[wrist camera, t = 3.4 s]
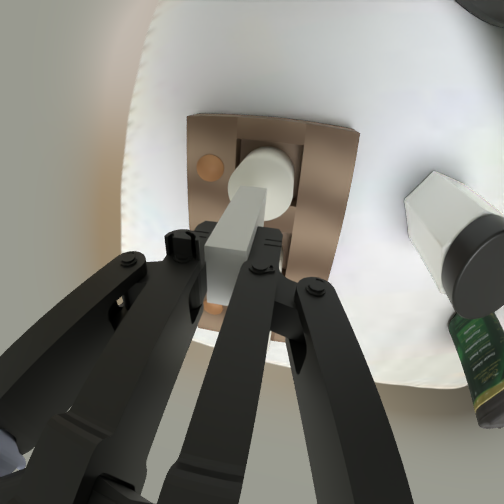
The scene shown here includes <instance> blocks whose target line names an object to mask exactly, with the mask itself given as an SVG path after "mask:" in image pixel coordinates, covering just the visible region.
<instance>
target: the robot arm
mask: <svg viewBox="0 0 504 504" xmlns="http://www.w3.org/2000/svg"><path fill="white" fill-rule="evenodd" d="M456 1H457V2H458V3H459V4H460V5H461V6H463V7H464V8H465V9H467V10H468V11H469V12H471V13H472V14H473V15H475V16H476V17H478V18H480V19H481V20H483V21H485V22H487V23H489V24H492V25H494V26H498V27H504V0H456ZM266 194H267V188H259V187H250V186H240V187H239V189H238V190H237V192H236V193H235V195H234V197H233V198H232V200H231V202H230V203H229V205H228V206H227V208H226V210H225V211H224V213H223V215H222V216H221V218H220V220H219V221H218V222H214V221H204V222H202V223H200V224H198V225H197V227H196V228H195V230H194V231H192V230H187V229H180V230H174V231H172V232H169V233H168V234H166V235H165V236H164V237H165V245H166V253H167V255H166V257H165V258H164V260H163V261H158V262H146V258H145V256H144V255H143V254H142V253H140V252H136V251H132V252H131V251H130V252H126V253H123V254H121V255H119V256H117V257H116V258H115V259H113V260H112V261H111V262H109V263H108V264H107V265H105V266H104V267H103V268H101V269H100V270H99V271H97V272H96V273H95V274H93V275H92V276H91V277H90V278H88V279H87V280H86V281H85V282H84V283H82V284H81V285H80V286H78V287H77V288H76V289H75V290H73V291H72V292H71V293H70V294H69V295H67V296H66V297H65V298H64V299H62V300H61V301H60V302H59V303H58V304H57V305H56V306H54V307H53V308H52V309H51V310H50V311H48V312H47V313H46V314H45V315H44V316H43V317H42V318H40V319H39V320H38V321H37V322H36V323H35V324H34V325H33V326H32V327H30V328H29V329H28V330H27V331H26V332H25V333H24V334H23V335H22V336H21V337H20V338H19V339H18V340H16V341H15V342H14V343H13V344H12V345H11V346H10V347H9V348H8V349H7V350H6V351H5V352H4V353H3V354H2V355H1V356H0V504H153V503H151V502H150V501H148V500H146V499H145V498H143V497H142V496H140V495H141V491H142V489H143V486H144V483H145V479H146V475H147V469H146V460H147V457H148V454H149V451H150V448H151V446H152V443H153V440H154V437H155V434H156V432H157V429H158V426H159V424H160V421H161V418H162V416H163V413H164V410H165V408H166V405H167V402H168V400H169V397H170V394H171V392H172V389H173V386H174V384H175V381H176V379H177V376H178V373H179V371H180V369H181V366H182V363H183V361H184V358H185V355H186V353H187V350H188V348H189V345H190V343H191V341H192V338H193V336H194V333H195V331H196V328H197V326H198V323H199V321H200V318H201V316H202V313H203V309H204V304H203V300H204V298H205V295H206V293H207V302H208V303H214V304H219V305H225V306H228V307H227V310H226V314H225V317H224V320H223V323H222V326H221V329H220V332H219V335H218V338H217V341H216V344H215V347H214V350H213V354H212V356H211V359H210V362H209V366H208V369H207V372H206V375H205V378H204V381H203V384H202V387H201V390H200V393H199V396H198V399H197V403H196V406H195V409H194V412H193V415H192V418H191V421H190V424H189V428H188V431H187V434H186V437H185V440H184V443H183V446H182V449H181V453H180V455H179V458H178V459H177V461H176V462H175V463H174V464H173V465H172V466H171V468H170V469H169V471H168V473H167V475H166V478H165V480H164V483H163V487H162V489H161V492H160V495H159V499H158V502H157V504H238V503H239V498H240V494H241V489H242V484H243V479H244V473H245V469H246V464H247V459H248V454H249V449H250V444H251V438H252V433H253V428H254V422H255V417H256V411H257V406H258V400H259V394H260V389H261V383H262V377H263V371H264V365H265V359H266V353H267V346H268V340H269V334H270V331H272V332H274V333H277V334H279V335H281V336H284V337H285V342H286V347H287V351H288V356H289V361H290V366H291V370H292V375H293V380H294V384H295V390H296V395H297V400H298V405H299V410H300V414H301V420H302V424H303V430H304V435H305V440H306V445H307V451H308V456H309V461H310V466H311V472H312V477H313V482H314V487H315V493H316V499H317V504H414V503H413V499H412V495H411V492H410V488H409V484H408V480H407V477H406V473H405V470H404V467H403V463H402V460H401V457H400V454H399V451H398V448H397V444H396V441H395V438H394V435H393V432H392V429H391V426H390V424H389V421H388V418H387V415H386V412H385V410H384V407H383V404H382V401H381V399H380V396H379V393H378V391H377V388H376V385H375V383H374V380H373V378H372V375H371V372H370V370H369V367H368V365H367V362H366V360H365V358H364V355H363V353H362V350H361V348H360V345H359V343H358V341H357V338H356V336H355V334H354V331H353V329H352V327H351V324H350V322H349V320H348V318H347V315H346V313H345V311H344V309H343V306H342V304H341V302H340V300H339V298H338V295H337V293H336V291H335V289H334V287H333V286H332V285H331V284H330V283H329V282H328V281H326V280H324V279H321V278H319V277H306V278H303V279H301V280H299V282H298V283H297V282H294V281H292V280H290V279H288V278H286V277H285V276H284V275H283V274H282V273H281V272H280V270H279V262H280V254H281V246H282V238H283V234H282V233H281V231H280V230H279V229H276V228H268V227H264V216H265V205H266ZM121 296H122V299H123V303H122V304H121V305H118V304H117V300H118V299H119V298H120V297H121ZM71 406H72V407H71ZM70 407H71V408H70ZM69 408H70V410H69V411H68V409H69ZM67 411H68V412H67ZM34 447H35V448H34ZM33 448H34V450H33V453H32V455H31V457H30V459H29V462H28V464H27V467H26V468H25V466H26V461H25V458H24V457H23V456H22V455H23V454H25V453H27V452H28V451H30V450H31V449H33ZM16 468H17V469H19V471H16V472H13V471H14V470H15V469H16ZM12 472H13V473H12Z"/></svg>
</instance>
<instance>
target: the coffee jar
mask: <svg viewBox="0 0 504 504" xmlns="http://www.w3.org/2000/svg"><path fill="white" fill-rule="evenodd" d="M449 332H450V334H451V337H452V340H453V342H454V345H455V347H456V350H457V353H458V355H459V358H460V361H461V364H462V367H463V370H464V373H465V376H466V379H467V383H468V386H469V390H470V393H471V397H472V401H473V405H474V410H475V413H476V417H477V420H478V424H479V426H480V427H481V428H486V429H491V428H502V427H504V331H503V329H502V327H501V325H500V322H499V320H498V318H497V317H496V315H495V313H494V312H493V313H491V314H490V315H488V316H485V317H482V318H479V319H466V318H463V317H461V316H459V315H458V314H456V315H455V316H454V318H453V319H452V320H451V322H450V324H449Z"/></svg>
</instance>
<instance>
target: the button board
mask: <svg viewBox="0 0 504 504" xmlns="http://www.w3.org/2000/svg"><path fill="white" fill-rule="evenodd" d="M359 137H360V133H359V132H357V131H355V130H354V129H350V128H345V127H340V126H335V125H329V124H323V123H317V122H310V121H303V120H295V119H287V118H278V117H267V116H254V115H238V114H195V115H190V116H187V183H188V209H189V228H190V230H192V231H194V230H195V228H196V227H197V225H198V224H200V223H202V222H204V221H214V222H218V221H219V220H220V218H221V216H222V215H223V213H224V211H225V210H226V208H227V206H228V205H229V203H230V202H231V201H230V198H229V195H228V183H229V179H230V177H231V175H232V173H233V172H234V171H235V169H236V168H237V167H238V166H239V165H240V163H241V162H242V161H243V160H244V159H245V158H246V156H247V155H248V154H249V153H250V152H251V151H253V150H255V149H257V148H259V147H264V146H270V147H275V148H278V149H280V150H282V151H283V152H285V153H286V154H287V155H288V156H289V158H290V159H291V161H292V163H293V166H294V187H293V198H292V201H291V204H290V206H289V207H288V209H287V210H286V211H285V212H284V213H283V214H282V215H281V216H279V217H277V218H275V219H272V220H268V221H264V227H268V228H276V229H279V230H280V231H281V233H282V234H283V238H282V247H283V252H284V253H283V263H282V271H281V273H282V274H283V275H284V276H285V277H286V278H288V279H290V280H292V281H294V282H297V283H298V282H299V280H301V279H303V278H306V277H319V278H321V279H324V280H326V281H328V278H329V274H330V271H331V267H332V263H333V259H334V256H335V252H336V248H337V244H338V240H339V236H340V232H341V228H342V224H343V219H344V215H345V210H346V206H347V201H348V197H349V192H350V187H351V182H352V177H353V172H354V166H355V161H356V155H357V149H358V143H359ZM203 304H204V309H203V313H202V316H201V318H200V321H199V323H198V328H202V329H207V330H212V331H217V332H220V329H221V326H222V323H223V320H224V317H225V314H226V310H227V307H228V306H225V305H219V304H214V303H208V302H207V293H206V295H205V298H204V300H203ZM270 340H271V341H278V342H285V337H284V336H281V335H279V334H277V333H274V332H271V339H270Z"/></svg>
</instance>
